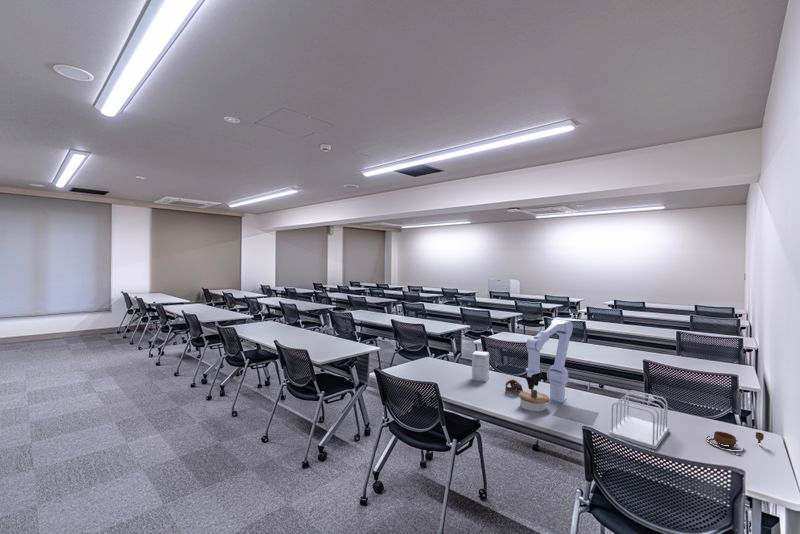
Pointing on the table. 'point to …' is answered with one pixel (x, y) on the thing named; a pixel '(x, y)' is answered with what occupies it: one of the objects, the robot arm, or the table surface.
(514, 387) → the brown dome
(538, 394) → the walnut lid
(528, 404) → the grey bowl
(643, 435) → the file sorter
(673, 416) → the table surface
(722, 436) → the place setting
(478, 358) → the supplement box
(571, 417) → the grey square pad
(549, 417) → the table surface
